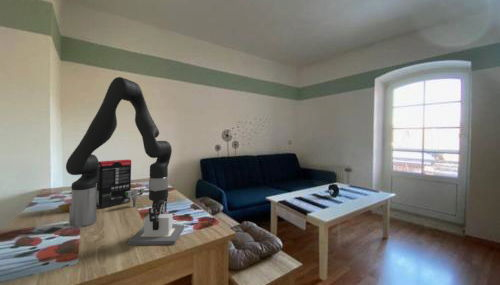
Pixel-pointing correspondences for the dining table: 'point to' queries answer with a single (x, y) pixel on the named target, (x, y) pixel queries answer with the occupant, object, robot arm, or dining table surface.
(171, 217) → the plug housing
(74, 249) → the dining table surface
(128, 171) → the graphics card box
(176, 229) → the header board
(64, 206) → the sunglasses
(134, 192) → the mechanical component
